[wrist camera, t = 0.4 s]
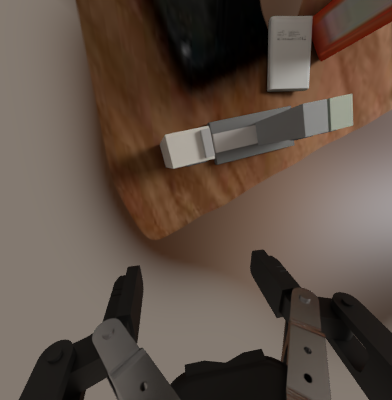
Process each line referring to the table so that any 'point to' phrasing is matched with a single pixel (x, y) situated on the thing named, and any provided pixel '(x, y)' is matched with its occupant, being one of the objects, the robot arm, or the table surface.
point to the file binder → (347, 23)
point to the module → (187, 147)
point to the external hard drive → (289, 53)
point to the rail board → (278, 127)
